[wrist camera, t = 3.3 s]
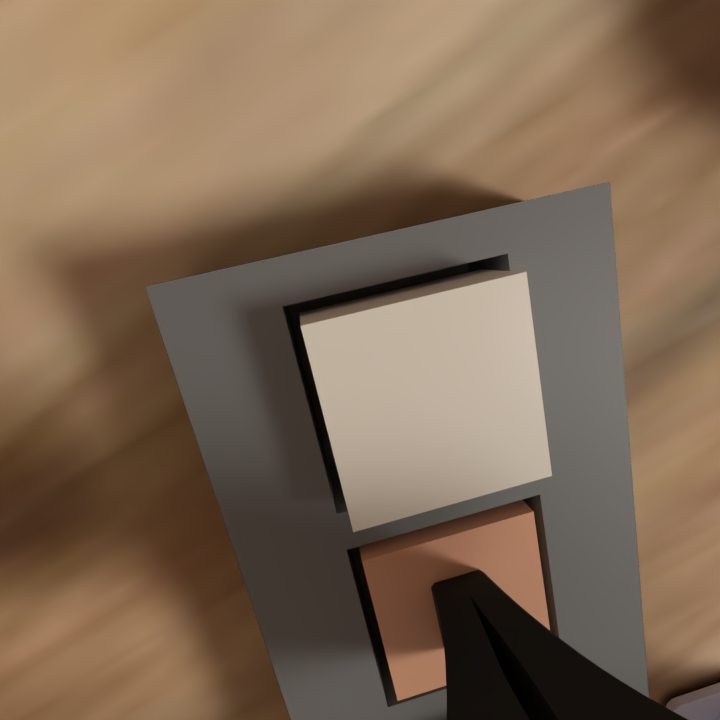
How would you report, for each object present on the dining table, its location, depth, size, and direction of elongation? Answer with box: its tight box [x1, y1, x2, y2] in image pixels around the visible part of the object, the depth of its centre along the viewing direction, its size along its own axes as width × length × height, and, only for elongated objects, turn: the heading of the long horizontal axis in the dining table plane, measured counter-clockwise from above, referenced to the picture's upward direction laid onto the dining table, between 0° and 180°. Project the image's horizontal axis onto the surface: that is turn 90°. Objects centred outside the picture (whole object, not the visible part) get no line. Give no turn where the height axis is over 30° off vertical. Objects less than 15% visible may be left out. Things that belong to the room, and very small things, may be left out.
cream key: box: [300, 270, 552, 532], centre depth 10 cm, size 4×4×2 cm
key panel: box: [145, 182, 649, 720], centre depth 13 cm, size 19×10×3 cm, turn 12°
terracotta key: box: [359, 500, 550, 701], centre depth 12 cm, size 4×4×2 cm
